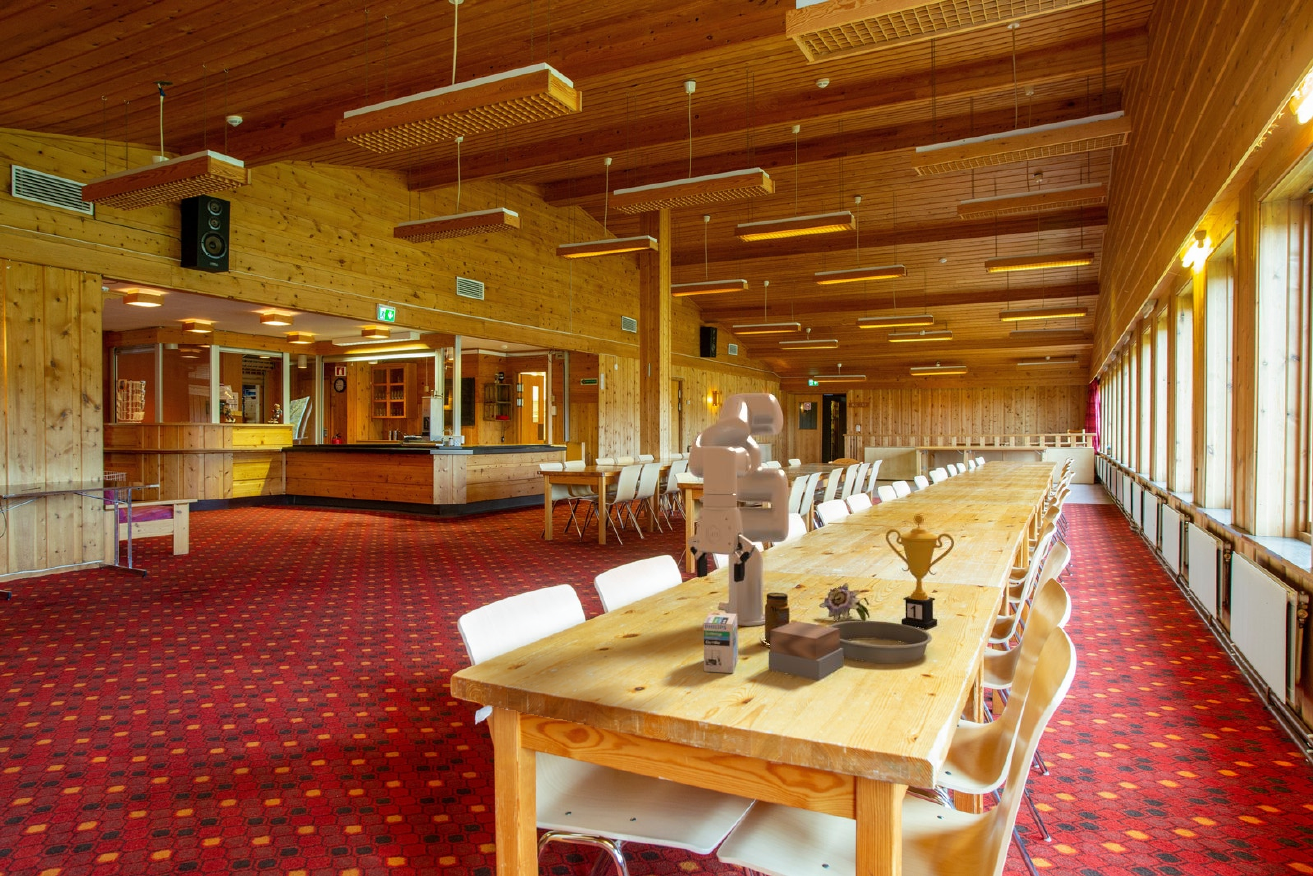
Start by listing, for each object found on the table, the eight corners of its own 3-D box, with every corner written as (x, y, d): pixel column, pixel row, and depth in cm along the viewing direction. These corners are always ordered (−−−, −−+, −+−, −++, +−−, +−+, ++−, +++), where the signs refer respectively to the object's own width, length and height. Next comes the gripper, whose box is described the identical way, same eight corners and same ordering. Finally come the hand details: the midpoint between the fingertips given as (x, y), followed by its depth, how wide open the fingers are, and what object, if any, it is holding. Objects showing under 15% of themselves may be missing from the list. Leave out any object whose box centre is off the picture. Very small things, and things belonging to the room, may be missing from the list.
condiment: (788, 638, 189) (788, 591, 189) (795, 648, 181) (795, 598, 181) (759, 639, 189) (759, 591, 189) (765, 648, 180) (765, 598, 180)
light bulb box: (733, 674, 161) (733, 624, 161) (702, 672, 162) (702, 622, 162) (738, 659, 171) (738, 612, 171) (709, 658, 172) (709, 611, 172)
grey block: (768, 671, 163) (768, 651, 163) (794, 659, 173) (794, 639, 173) (819, 682, 156) (819, 661, 156) (843, 668, 165) (843, 648, 165)
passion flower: (837, 640, 207) (811, 604, 210) (850, 625, 216) (825, 590, 218) (868, 623, 201) (841, 585, 203) (880, 608, 210) (854, 572, 212)
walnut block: (770, 650, 163) (770, 630, 164) (795, 640, 172) (795, 621, 172) (815, 660, 156) (815, 638, 156) (839, 648, 165) (839, 628, 165)
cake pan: (955, 660, 170) (955, 641, 170) (860, 670, 163) (859, 650, 163) (891, 634, 194) (891, 617, 194) (806, 642, 187) (806, 624, 187)
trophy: (877, 622, 205) (877, 513, 206) (894, 616, 212) (893, 510, 212) (946, 634, 192) (945, 518, 192) (962, 627, 199) (961, 515, 199)
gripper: (678, 501, 169) (679, 577, 169) (744, 504, 158) (745, 585, 158) (697, 499, 175) (697, 573, 174) (762, 502, 164) (762, 580, 164)
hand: (720, 579), depth 166 cm, fingers open, 9 cm apart
